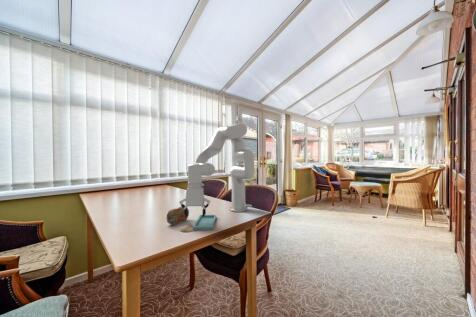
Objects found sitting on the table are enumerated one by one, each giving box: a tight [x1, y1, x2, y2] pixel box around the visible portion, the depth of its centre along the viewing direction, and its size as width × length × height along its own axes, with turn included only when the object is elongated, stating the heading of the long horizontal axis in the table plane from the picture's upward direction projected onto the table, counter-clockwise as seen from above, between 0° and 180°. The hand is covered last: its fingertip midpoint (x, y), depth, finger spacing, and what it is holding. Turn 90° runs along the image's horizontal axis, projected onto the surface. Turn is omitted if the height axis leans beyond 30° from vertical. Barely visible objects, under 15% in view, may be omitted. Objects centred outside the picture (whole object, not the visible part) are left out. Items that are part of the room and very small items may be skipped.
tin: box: [166, 206, 190, 226], centre depth 118 cm, size 15×3×8 cm, turn 149°
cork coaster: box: [179, 225, 195, 233], centre depth 107 cm, size 8×8×1 cm
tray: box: [192, 214, 217, 231], centre depth 116 cm, size 10×21×2 cm, turn 1°
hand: (195, 215), depth 116 cm, fingers open, 9 cm apart
